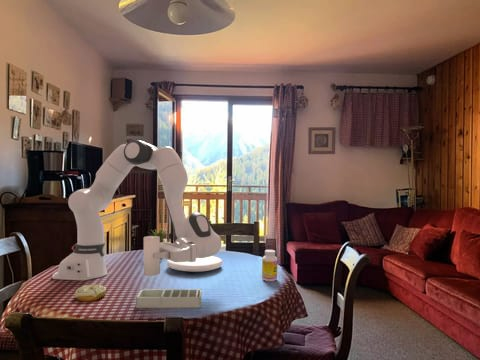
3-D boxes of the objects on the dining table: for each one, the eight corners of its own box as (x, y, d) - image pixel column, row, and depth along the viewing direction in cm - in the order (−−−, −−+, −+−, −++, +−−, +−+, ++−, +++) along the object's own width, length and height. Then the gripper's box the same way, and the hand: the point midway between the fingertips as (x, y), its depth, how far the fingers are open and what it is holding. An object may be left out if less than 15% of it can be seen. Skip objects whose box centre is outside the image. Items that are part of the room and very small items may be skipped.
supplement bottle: (274, 282, 159) (275, 252, 158) (260, 280, 161) (260, 251, 161) (278, 278, 165) (279, 249, 165) (264, 276, 167) (264, 248, 167)
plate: (179, 251, 197) (228, 254, 192) (179, 263, 197) (227, 267, 191) (158, 257, 170) (213, 261, 164) (157, 271, 169) (213, 275, 164)
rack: (136, 307, 126) (136, 297, 126) (141, 298, 135) (141, 289, 135) (200, 307, 128) (200, 297, 127) (201, 298, 136) (201, 289, 136)
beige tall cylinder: (142, 276, 128) (142, 238, 128) (145, 271, 134) (145, 236, 133) (158, 275, 128) (158, 238, 128) (160, 271, 134) (160, 235, 134)
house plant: (146, 253, 211) (147, 225, 211) (171, 253, 213) (171, 225, 213) (143, 259, 197) (143, 228, 197) (169, 259, 199) (169, 228, 198)
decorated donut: (69, 302, 131) (69, 291, 131) (82, 292, 142) (82, 283, 142) (99, 302, 131) (99, 292, 131) (109, 293, 142) (109, 283, 142)
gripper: (170, 237, 147) (137, 241, 138) (197, 245, 131) (162, 250, 122) (170, 252, 147) (137, 257, 139) (198, 262, 131) (162, 268, 123)
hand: (149, 254), depth 130 cm, fingers closed on beige tall cylinder, 6 cm apart
